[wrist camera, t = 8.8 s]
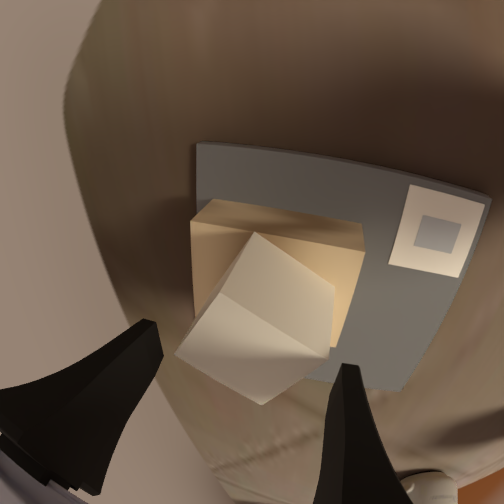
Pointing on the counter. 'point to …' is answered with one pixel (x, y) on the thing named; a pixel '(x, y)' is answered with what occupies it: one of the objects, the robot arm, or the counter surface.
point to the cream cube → (262, 323)
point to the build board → (365, 243)
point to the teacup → (431, 488)
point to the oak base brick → (285, 238)
